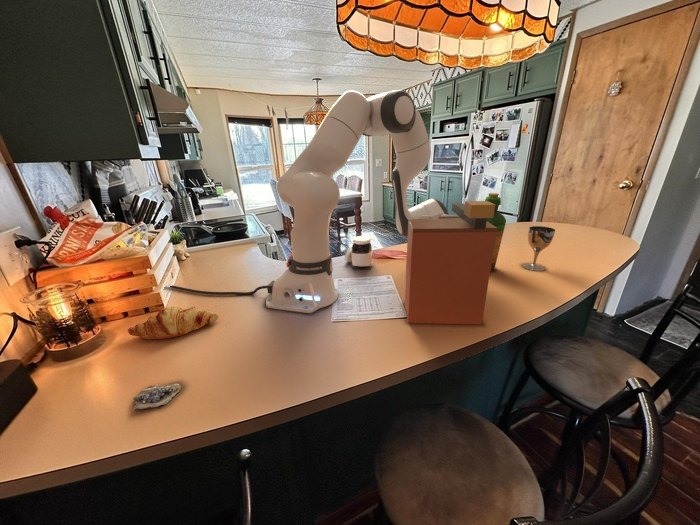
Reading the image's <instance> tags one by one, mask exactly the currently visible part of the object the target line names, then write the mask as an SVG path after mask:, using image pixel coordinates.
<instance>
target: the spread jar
mask: <svg viewBox="0 0 700 525" xmlns="http://www.w3.org/2000/svg"><path fill="white" fill-rule="evenodd" d="M372 254H373V246H372V243H371V237H370V236H367V235H359V236H357V235H356V236H355V237H353V238H352V245H351V247H350V248H348V250H347V251H346V253H345V255H344V261H346V262H347V263H351V265H352V267H353V268H355V269H357V270H367V269H369V268H371V267H372V263H373V257H372V256H373V255H372Z"/></svg>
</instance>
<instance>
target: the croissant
mask: <svg viewBox="0 0 700 525" xmlns="http://www.w3.org/2000/svg"><path fill="white" fill-rule="evenodd" d="M218 319H219V314H218V313H215V312H213V311H211V310H209V309H205V310H203V309H201V308H198V307H196V306H192V307H189V308H185V309H184V308H182V307H180V306H168V307H164V308H162V309H159V310H158V313H157V314H153V315H151V316H149V317H148V318H147V320H145V321H141V322H137V324H135V326H131V327H129V328H128V329H127V333H128V335H130V336H133V337H140V338H142V339H144V340H145V339H146V340H164V339H169V338H175V337H180V336H183V335H185V334H188V333H191V332H192V331H195V330H199V329H200V328H202V327H204V326H206V325H210V324H212V323H214V322H216V321H217V320H218Z"/></svg>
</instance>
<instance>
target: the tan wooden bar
mask: <svg viewBox="0 0 700 525" xmlns="http://www.w3.org/2000/svg"><path fill="white" fill-rule="evenodd" d="M494 210H495V204H493V203H491V202H488V201H485V200H465V201H464V203H463V202H462V201H460V202H459V201H455V202H454V201H453V202H452V205H451V211H452V212H453V213H454V214H455V215H458V216H459V217H461V218H462V219H463V220H465V221H466V222H467V223H468V224H470V225H471V226H472V227H473V228H475V229H485V228H486V222H487V218H493V216H494Z"/></svg>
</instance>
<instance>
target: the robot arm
mask: <svg viewBox="0 0 700 525" xmlns="http://www.w3.org/2000/svg"><path fill="white" fill-rule="evenodd" d="M388 135H389V137H390V138H391V139H392V144H393V149H394V152H395V156H396V157H395V160H396V161H395V166H394V168H393V170H392V171H391V186H392V188H391V189H392V194H393V196H392V197H393V204H394V211H395V226H396V229H397V231H398V233H399V235H401V236H403V237H407V238H408V219H458V218H461V217H459V216H458V215H457V214H449V212H448V211H449V210H448V209H447V207H446V206H445V204H444V203H443V202H442V201H440V200H438V199H436V198H429V199H427V200H425V201H423V202H420V203H419V204H416V205H414V206H412V207H409V205H408V195H407V190H408V187H409V186H410V184H411V183H412V181H413V180H414V179H415V178H416V177H417V176H418V175H419V174H420V173H421V172H423V170H424V169H425V168H426V167H427V165H428V164H429V161H430V159H431V155H432V154H431V153H432V151H431V144H430V138H429V135H428V132H427V127H426V125H425V122H424V120H423V118H422V115H421V113H420V111H419V110H418V109H417V108H416V105H415V102H414V100H413V98H412V96H411V95H410V94H409V93H408V92H407V91H405V90H401V89H393V90H390V91H387V92H381V93H377V94H374V95H372V96H370V97H366V96H365V95H364V94H362V93H361V92H360V91H356V90H347V91H345V92H344V93H343V94H341V96H340V97H339V98H338V99H337V100H336V101H335V102H334V104H333V105H332V106H331V108H330V109H329V111H328V112H327V114H326V115H325V116H324V118H323V120H322V122H321V124H320V125H319V127H318V129H317V130H316V131H315V133H314V134H313V137H312V139H311V140H310V142H309V143H308V144H307V146H306V147H305V148H304V150H302V152H300V154H299V155H298V157H297V158H296V159H295V160H294V161H293V163H292V164H291V165H290V167H289V168H288V169H287V170H286V171H285V172H284V173H283V174H281V176H280V177H279V178H278V180H277V183H276V191H277V194H278V196H279V198H280V199H281V200H282V202H283V203H284V204H285V205H287V206H289V207H290V208H293V212H294V217H293V225H292V229H291V230H290V241H291V250H292V253H291V254H290V255H289V258H288V259H287V262H286V263H285V265H286V268H287V269H285V271H283V272H282V273H281V274H280V275H279V276H278V277H277V278H276V279H275V280H271V282H269V283H268V284H267V285H261V286H258V287H256V288H255V289H254V290H252V291H247V292H246V291H245V292H241V291H205V290H199V289H191V288H186V287H181V286H177V285H172V284H171V285H172V286H170V287H169V289H175V290H179V291H185V292H190V293H195V294H202V295H217V296H218V295H219V296H220V295H221V296H225V295H226V296H227V295H229V296H230V295H231V296H233V295H234V296H251V295H254V294H256V293H257V292H258V291H260V290H264V289H266V291H267V294H268V295H267V297H266V299H265V306H266V308H268V309H275V310H281V311H288V312H289V311H290V312H296V313H304V314H312V313H314V312H316V311H317V310H319V309H322V308H325V307H328V306H330V305H332V304H334V303H335V302H336V301H337V299H338V297H339V295H338V294H339V293H338V292H337V289H336V286H335V283H334V278H333V270H334V268H333V258H332V254H331V252H330V225H331V219H332V214H333V211H334V210H335V209H336V207H337V206H338V204H339V201H340V199H341V198H340V197H341V193H340V188H339V185H338V182H336V181H335V179H334V178H332V177H333V176H334V175H335V174H336V173H337V172H338V171H340V170H341V169H343V168H344V167H345V165H346V163H347V162H348V160H349V159H350V157H351V155H352V153H353V152H354V150H355V148H356V146H357V145H358V143H359V141H360V140H361V138H362V136H364V137H373V136H374V137H379V136H380V137H383V136H384V137H385V136H388Z"/></svg>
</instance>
